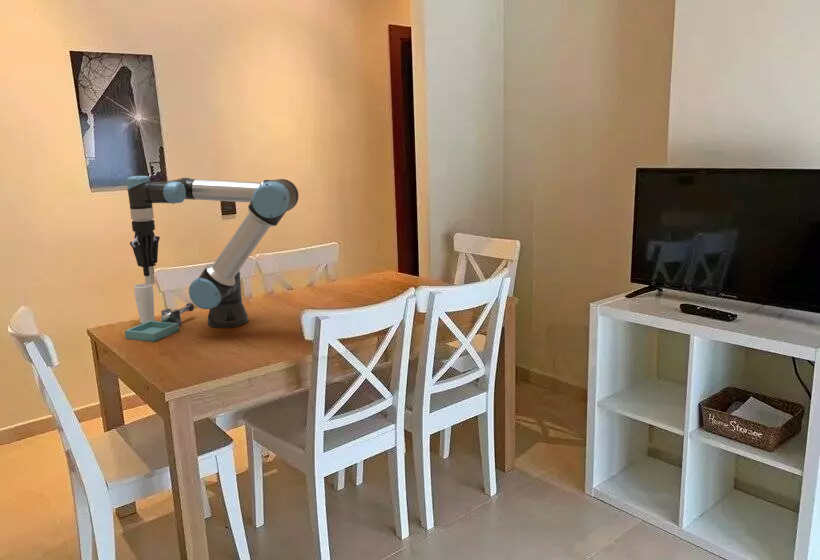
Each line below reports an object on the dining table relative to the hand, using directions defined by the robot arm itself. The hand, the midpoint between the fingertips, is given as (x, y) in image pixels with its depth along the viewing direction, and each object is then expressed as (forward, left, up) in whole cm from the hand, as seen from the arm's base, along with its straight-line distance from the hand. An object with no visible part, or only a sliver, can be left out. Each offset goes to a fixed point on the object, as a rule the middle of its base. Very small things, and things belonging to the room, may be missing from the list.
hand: (150, 283), depth 234 cm
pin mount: (-1, -8, -19) cm, 20 cm away
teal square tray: (-1, +3, -19) cm, 19 cm away
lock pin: (-1, -12, -16) cm, 20 cm away
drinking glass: (+12, -9, -19) cm, 24 cm away
